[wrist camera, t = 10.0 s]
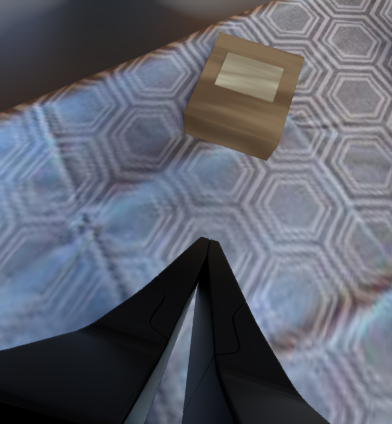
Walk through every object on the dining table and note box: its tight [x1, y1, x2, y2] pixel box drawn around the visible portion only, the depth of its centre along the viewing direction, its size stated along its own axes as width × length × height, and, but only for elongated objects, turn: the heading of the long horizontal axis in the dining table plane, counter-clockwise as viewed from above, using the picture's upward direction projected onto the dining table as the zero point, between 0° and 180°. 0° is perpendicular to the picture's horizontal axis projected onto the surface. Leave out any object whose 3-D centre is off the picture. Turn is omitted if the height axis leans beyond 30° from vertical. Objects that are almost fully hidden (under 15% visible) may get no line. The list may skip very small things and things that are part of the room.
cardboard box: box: [183, 32, 304, 161], centre depth 26 cm, size 4×11×13 cm
